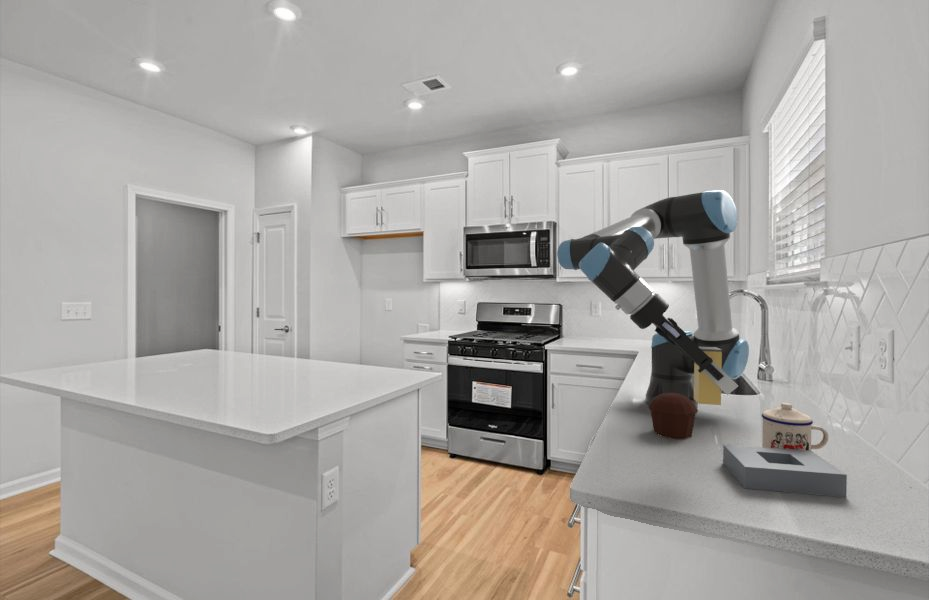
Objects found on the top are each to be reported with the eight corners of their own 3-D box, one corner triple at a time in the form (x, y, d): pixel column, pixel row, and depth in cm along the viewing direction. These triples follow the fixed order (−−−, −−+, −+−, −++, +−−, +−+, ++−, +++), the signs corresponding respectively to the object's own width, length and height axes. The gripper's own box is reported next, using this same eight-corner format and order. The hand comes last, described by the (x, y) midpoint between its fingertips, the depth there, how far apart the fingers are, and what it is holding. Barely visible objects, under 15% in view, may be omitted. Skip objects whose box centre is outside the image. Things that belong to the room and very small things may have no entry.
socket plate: (723, 463, 94) (723, 444, 94) (810, 470, 90) (811, 450, 90) (744, 488, 82) (745, 466, 82) (846, 497, 79) (846, 474, 79)
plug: (693, 398, 93) (694, 346, 93) (715, 400, 92) (716, 347, 92) (698, 403, 89) (699, 349, 89) (720, 405, 88) (721, 349, 88)
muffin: (670, 443, 107) (670, 401, 107) (638, 429, 117) (638, 391, 117) (708, 437, 111) (708, 397, 110) (674, 424, 121) (674, 387, 121)
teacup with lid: (767, 461, 95) (768, 407, 95) (756, 447, 104) (756, 397, 103) (836, 469, 91) (837, 412, 91) (819, 453, 99) (820, 401, 99)
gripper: (624, 314, 103) (702, 390, 99) (632, 319, 86) (727, 411, 82) (649, 291, 101) (729, 367, 97) (662, 292, 85) (760, 384, 81)
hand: (728, 387), depth 90 cm, fingers closed on plug, 4 cm apart
